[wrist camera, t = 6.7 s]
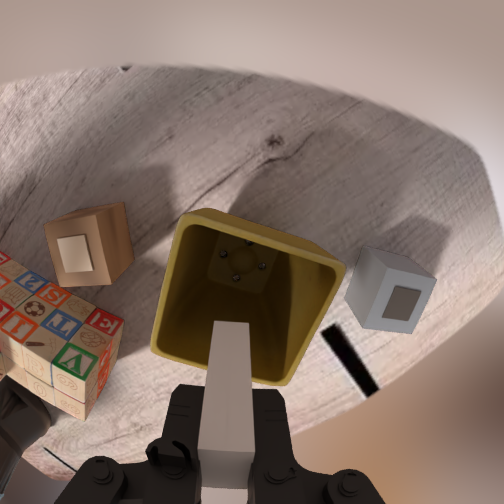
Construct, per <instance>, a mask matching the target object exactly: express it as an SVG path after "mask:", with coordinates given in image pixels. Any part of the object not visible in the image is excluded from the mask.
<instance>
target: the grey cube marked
mask: <svg viewBox="0 0 504 504" xmlns="http://www.w3.org/2000/svg"><path fill="white" fill-rule="evenodd" d="M436 281H437V279H436V278H435V277H433V276H432V275H431V274H430V273H428V272H427V271H426V270H424V269H423V268H422V267H421V266H419V265H418V264H417V263H415V262H414V261H413V260H411V259H410V258H409V257H405V256H402V255H398V254H394V253H390V252H386V251H383V250H379V249H375V248H371V247H367V246H363V247H362V250H361V253H360V256H359V259H358V262H357V265H356V267H355V270H354V273H353V276H352V278H351V281H350V284H349V287H348V289H347V292H346V294H345V297H344V299H345V300H346V302H347V303H348V305H349V307H350V308H351V310H352V312H353V313H354V315H355V317H356V318H357V320H358V322H359V323H360V325H361V327H362V328H364V329H372V330H380V331H389V332H397V333H407V334H412V333H413V331H414V329H415V327H416V325H417V323H418V321H419V319H420V317H421V315H422V313H423V310H424V308H425V306H426V304H427V302H428V300H429V297H430V295H431V293H432V291H433V288H434V286H435V284H436Z"/></svg>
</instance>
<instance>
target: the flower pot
mask: <svg viewBox="0 0 504 504" xmlns="http://www.w3.org/2000/svg"><path fill="white" fill-rule="evenodd" d="M246 239H247V240H250V241H253V243H252V244H251V245H248V244H247V243H246ZM223 250H224V251H226V252H227V256H225V257H222V256H221V255H220V252H221V251H223ZM260 263H264V264H265V268H264V269H260V268H259V267H258V265H259V264H260ZM345 271H346V265H345V264H343V263H342V262H341V261H339V260H338V259H336V258H335V257H333V256H332V255H331V254H329V253H328V252H327V251H325V250H324V249H322V248H321V247H319V246H318V245H316V244H315V243H313V242H311V241H309V240H306V239H303V238H300V237H297V236H294V235H291V234H287V233H284V232H281V231H278V230H275V229H272V228H269V227H266V226H263V225H260V224H257V223H254V222H251V221H248V220H245V219H242V218H239V217H236V216H233V215H230V214H227V213H224V212H222V211H219V210H216V209H212V208H202V209H198V210H194V211H191V212H188V213H184V214H183V215H182V216H181V217H180V218H179V220H178V223H177V226H176V230H175V234H174V238H173V242H172V246H171V250H170V254H169V258H168V263H167V267H166V271H165V276H164V280H163V284H162V288H161V293H160V298H159V303H158V307H157V312H156V316H155V321H154V325H153V330H152V335H151V341H150V348H151V352H153V353H154V354H156V355H159V356H161V357H164V358H167V359H170V360H173V361H176V362H179V363H183V364H187V365H190V366H194V367H197V368H201V369H205V370H207V369H208V361H209V354H210V347H211V340H212V333H213V326H214V321H225V322H240V323H249V337H250V359H251V380H252V382H256V383H260V384H265V385H270V386H286V385H287V384H288V383H289V382H290V380H291V378H292V377H293V375H294V373H295V371H296V369H297V367H298V365H299V363H300V361H301V359H302V358H303V356H304V354H305V352H306V350H307V348H308V346H309V344H310V342H311V340H312V338H313V336H314V334H315V332H316V330H317V329H318V327H319V325H320V323H321V321H322V319H323V318H324V316H325V314H326V312H327V310H328V308H329V306H330V305H331V303H332V301H333V298H334V297H335V295H336V293H337V291H338V289H339V287H340V285H341V283H342V280H343V278H344V275H345ZM234 275H239V276H240V280H238V281H236V280H234V279H233V276H234Z"/></svg>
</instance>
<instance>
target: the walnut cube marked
mask: <svg viewBox="0 0 504 504" xmlns="http://www.w3.org/2000/svg"><path fill="white" fill-rule="evenodd" d="M43 226H44V230H45V235H46V239H47V243H48V247H49V251H50V255H51V259H52V262H53V266H54V269H55V273H56V276H57V279H58V282H59V286H60V287H74V286H94V285H112V284H113V283H114V282H115V280H116V279H117V278H118V277H119V276H120V275H121V274H122V273H123V272H124V271H125V270H126V269H127V268H128V267H129V265H130V264H131V263H132V262H133V261H134V260H135V258H134V254H133V249H132V244H131V239H130V234H129V229H128V223H127V218H126V212H125V206H124V202H119V203H113V204H107V205H102V206H96V207H91V208H85V209H80V210H75V211H73V212H71V213H68V214H66V215H64V216H61V217H59V218H57V219H55V220H52V221H50V222H48V223H46V224H44V225H43Z"/></svg>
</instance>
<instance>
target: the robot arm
mask: <svg viewBox="0 0 504 504" xmlns="http://www.w3.org/2000/svg"><path fill="white" fill-rule="evenodd" d="M287 420H288V419H287V413H286V407H285V401H284V398H283V397H282V395H281V394H280V393H279V391H278V390H277V389H252V380H251V359H250V337H249V323H240V322H225V321H214V326H213V333H212V340H211V347H210V354H209V361H208V369H207V376H206V384H205V386H194V385H185V384H179V385H178V387H177V388H176V389H175V390H174V391H173V392H172V395H171V399H170V403H169V407H168V411H167V415H166V419H165V424H164V428H163V432H162V437H161V438H158V439H155V440H154V441H153V442H151V443H150V444H149V445H148V447H147V449H146V451H145V452H146V455H147V457H148V460H146V461H144V462H140V463H129V464H119V463H117V462H116V461H115V460H113V459H112V458H109V457H106V456H95V457H92V458H89V459H88V460H87V461H85V462H84V463H83V464H82V466H81V467H80V468H79V470H78V471H77V472H76V474H75V475H74V477H73V478H72V479H71V481H70V482H69V483H68V485H67V486H66V488H65V489H64V490H63V492H62V493H61V494H60V496H59V497H58V499H57V500H56V501H55V502H54V504H201V487H212V488H228V489H247V488H248V501H247V504H385V502H384V501H383V499H382V498H381V496H380V495H379V493H378V492H377V490H376V489H375V487H374V486H373V484H372V483H371V481H370V480H369V478H368V477H367V476H366V475H365V474H364V473H362V472H360V471H358V470H353V469H346V470H341V471H339V472H337V473H335V474H333V475H328V474H322V473H316V472H312V471H309V470H307V469H304V468H303V467H302V466H300V465H299V464H298V463H297V461H296V460H295V458H294V455H293V450H292V444H291V438H290V431H289V425H288V422H287ZM50 425H51V418H50V415H49V413H48V411H47V410H46V408H45V406H44V405H43V404H42V402H41V401H40V400H39V398H38V397H37V396H36V395H35V394H34V393H32V392H31V391H30V390H29V389H27V388H25V387H24V386H22V385H21V384H19V383H18V382H16V381H15V380H13V379H12V378H11V377H9V376H8V375H5V376H4V378H3V379H2V380H1V381H0V499H1V498H2V497H3V496H4V491H5V489H6V487H7V485H8V482H9V480H10V478H11V476H12V474H13V472H14V470H15V468H16V466H17V464H18V462H19V460H20V458H21V456H22V454H23V452H24V451H25V450H26V449H27V448H28V447H29V446H31V445H32V444H33V443H34V442H35V441H37V440H38V439H39V438H40V437H42V436H44V435H45V434H46V433H47V431H48V429H49V427H50Z"/></svg>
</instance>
